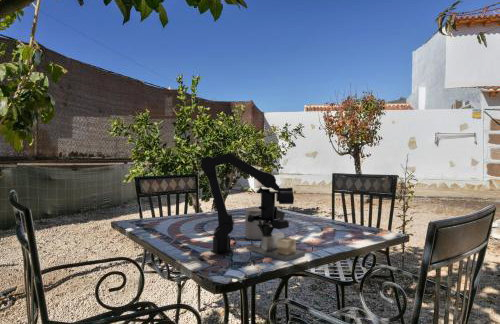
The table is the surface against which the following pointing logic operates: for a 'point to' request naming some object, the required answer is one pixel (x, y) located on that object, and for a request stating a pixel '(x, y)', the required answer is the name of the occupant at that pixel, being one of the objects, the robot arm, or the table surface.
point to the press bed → (275, 253)
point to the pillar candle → (252, 224)
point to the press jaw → (270, 240)
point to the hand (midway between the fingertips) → (267, 241)
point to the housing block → (286, 245)
